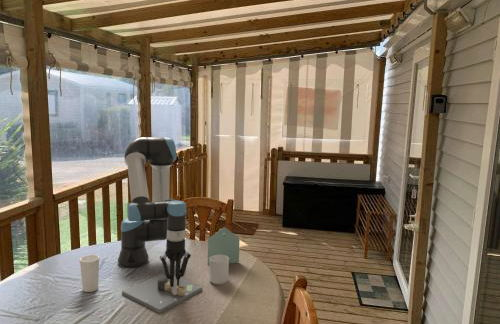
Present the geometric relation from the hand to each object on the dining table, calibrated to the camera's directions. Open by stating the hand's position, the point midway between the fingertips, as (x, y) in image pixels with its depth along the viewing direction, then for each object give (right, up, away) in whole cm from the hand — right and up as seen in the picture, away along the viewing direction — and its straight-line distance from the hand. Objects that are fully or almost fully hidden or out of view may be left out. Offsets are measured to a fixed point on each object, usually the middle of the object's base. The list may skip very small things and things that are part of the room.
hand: (174, 293), depth 155 cm
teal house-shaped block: (+17, +2, +42) cm, 46 cm away
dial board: (-6, -2, +6) cm, 9 cm away
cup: (-38, -1, +7) cm, 38 cm away
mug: (+17, -1, +20) cm, 27 cm away
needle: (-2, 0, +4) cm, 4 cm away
